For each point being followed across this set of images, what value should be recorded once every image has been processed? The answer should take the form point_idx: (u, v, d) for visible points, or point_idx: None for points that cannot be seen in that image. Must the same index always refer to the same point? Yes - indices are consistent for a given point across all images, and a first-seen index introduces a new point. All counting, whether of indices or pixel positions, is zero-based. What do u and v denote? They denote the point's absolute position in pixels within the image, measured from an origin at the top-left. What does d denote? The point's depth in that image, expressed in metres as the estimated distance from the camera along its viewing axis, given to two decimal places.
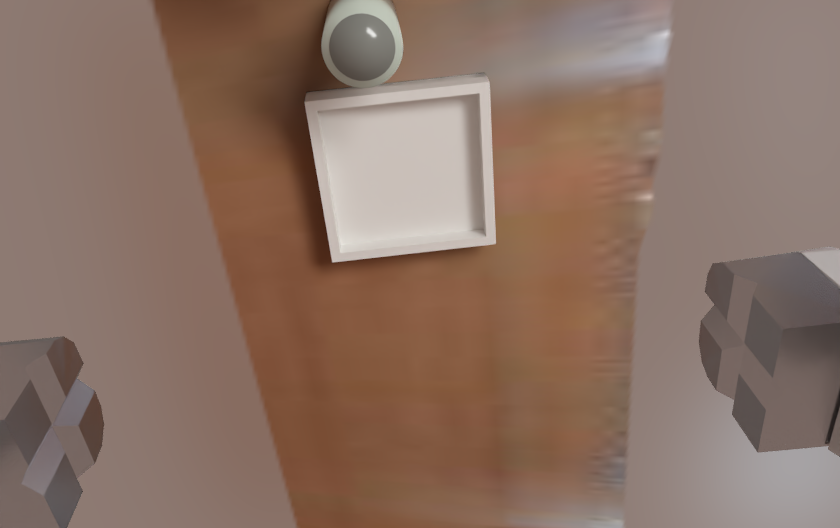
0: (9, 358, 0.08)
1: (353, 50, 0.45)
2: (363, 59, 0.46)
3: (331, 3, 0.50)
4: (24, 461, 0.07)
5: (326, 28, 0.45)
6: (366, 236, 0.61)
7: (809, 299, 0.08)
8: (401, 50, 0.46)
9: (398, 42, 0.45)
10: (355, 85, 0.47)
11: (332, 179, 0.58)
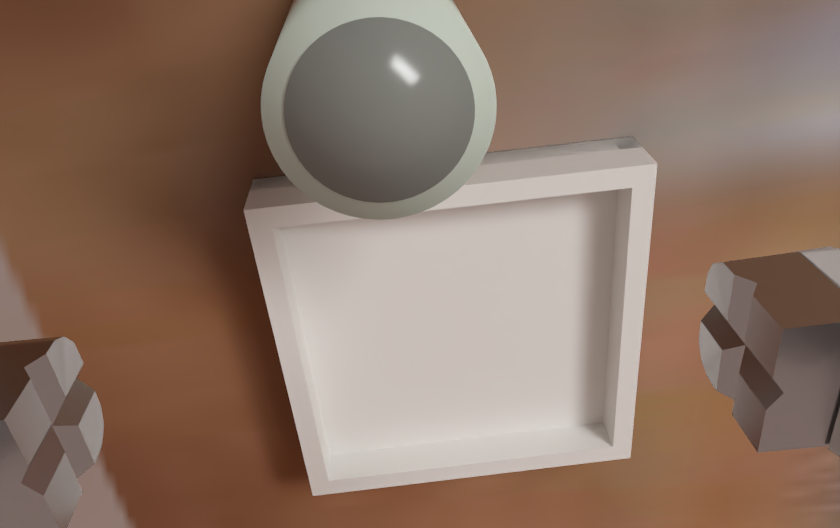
0: (9, 358, 0.08)
1: (354, 123, 0.16)
2: (382, 147, 0.16)
3: None
4: (24, 461, 0.07)
5: (274, 61, 0.15)
6: (379, 440, 0.32)
7: (809, 299, 0.08)
8: (491, 121, 0.16)
9: (483, 100, 0.16)
10: (359, 213, 0.17)
11: (311, 346, 0.29)
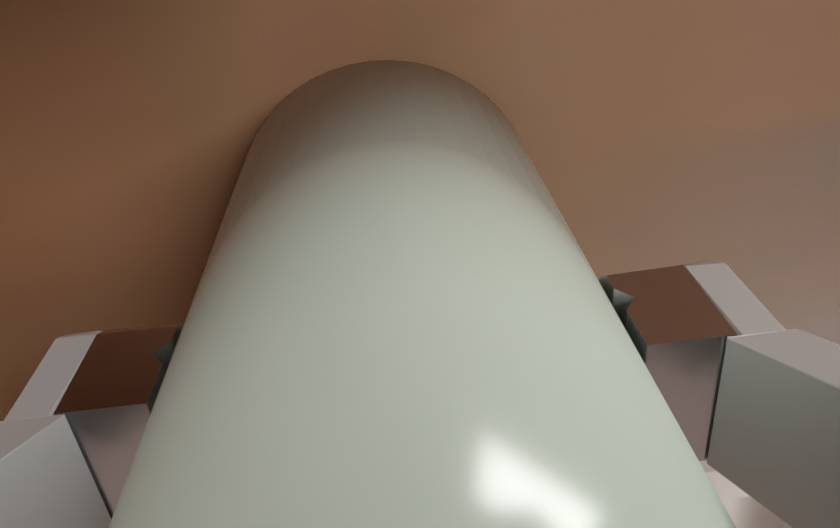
0: (135, 344, 0.08)
1: None
2: None
3: (241, 180, 0.10)
4: None
5: None
6: None
7: (681, 314, 0.08)
8: None
9: None
10: None
11: None
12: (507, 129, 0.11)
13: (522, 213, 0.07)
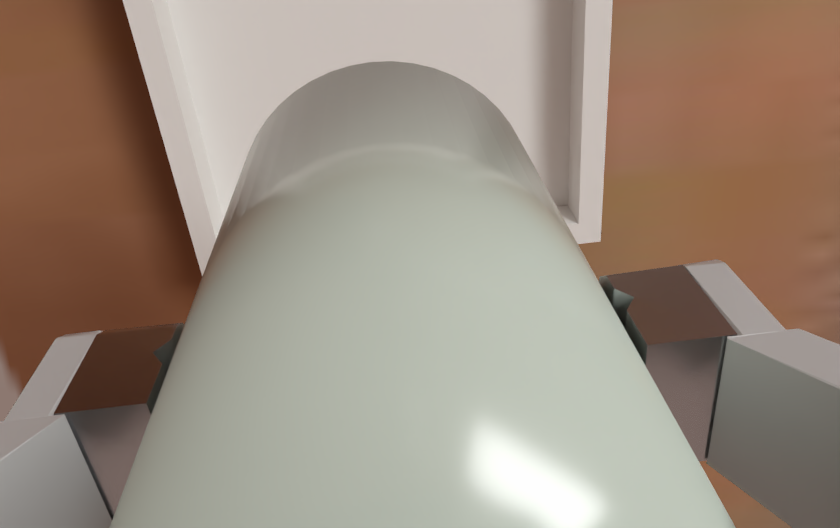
0: (135, 344, 0.08)
1: None
2: None
3: (242, 181, 0.10)
4: None
5: None
6: None
7: (680, 314, 0.08)
8: None
9: None
10: None
11: (192, 74, 0.23)
12: (507, 130, 0.11)
13: (523, 215, 0.07)
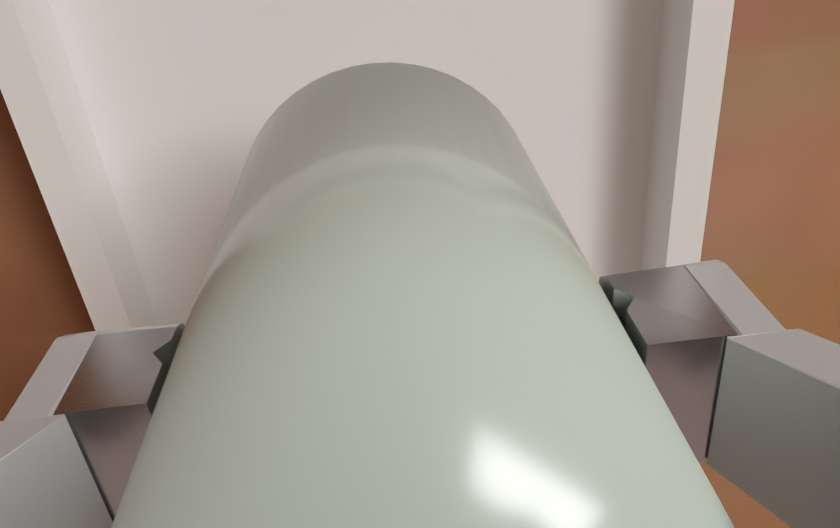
0: (135, 343, 0.08)
1: None
2: None
3: (242, 182, 0.10)
4: None
5: None
6: None
7: (680, 314, 0.08)
8: None
9: None
10: None
11: (112, 158, 0.16)
12: (508, 131, 0.11)
13: (523, 217, 0.07)
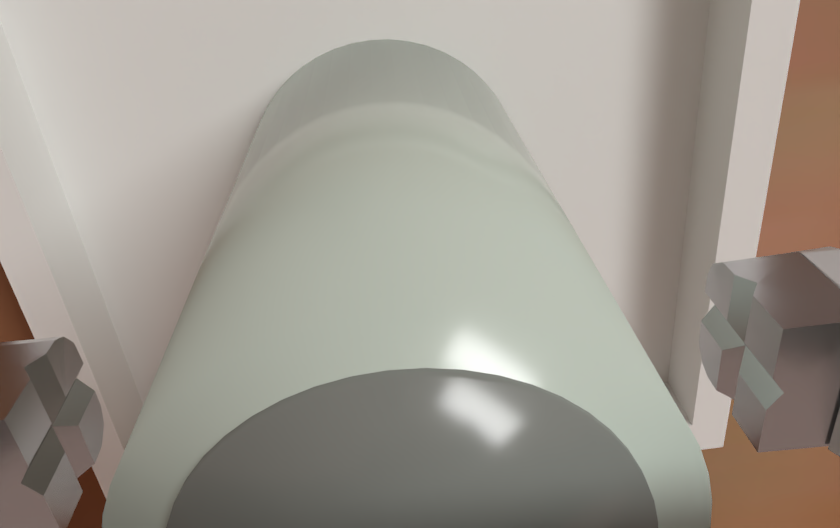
0: (9, 358, 0.08)
1: None
2: None
3: (255, 140, 0.11)
4: (24, 461, 0.07)
5: (128, 472, 0.05)
6: None
7: (809, 299, 0.08)
8: None
9: (679, 525, 0.06)
10: None
11: (83, 212, 0.14)
12: (493, 99, 0.12)
13: (498, 153, 0.09)
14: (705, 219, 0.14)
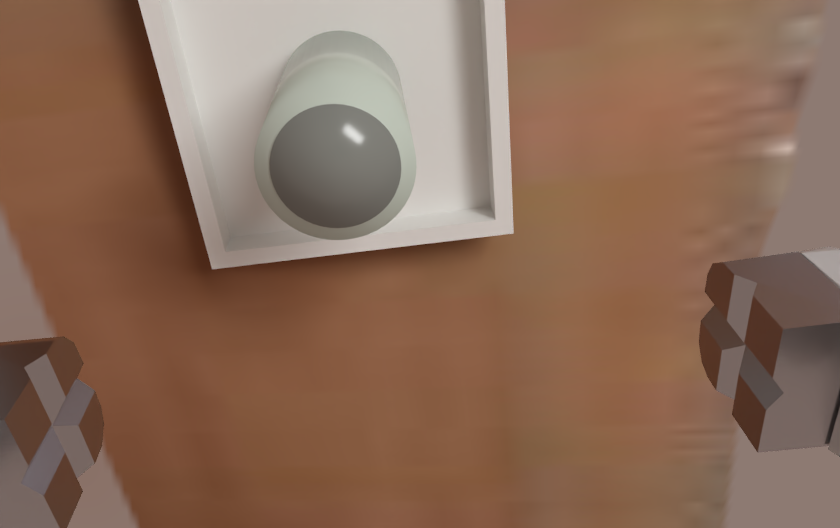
0: (9, 358, 0.08)
1: (318, 174, 0.23)
2: (338, 189, 0.23)
3: (284, 71, 0.28)
4: (24, 461, 0.07)
5: (262, 134, 0.22)
6: (276, 221, 0.34)
7: (809, 298, 0.08)
8: (413, 171, 0.23)
9: (406, 157, 0.23)
10: (324, 236, 0.24)
11: (203, 110, 0.31)
12: (383, 54, 0.29)
13: (370, 66, 0.25)
14: (488, 112, 0.31)
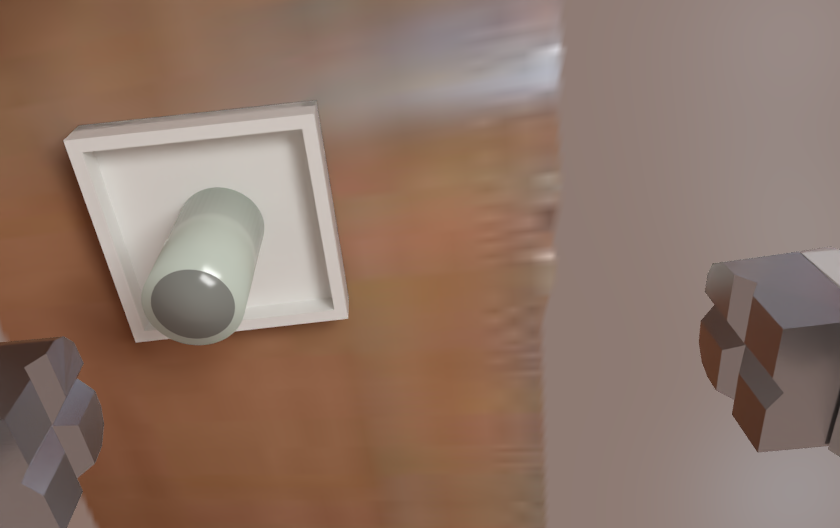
0: (9, 358, 0.08)
1: (182, 308, 0.37)
2: (196, 317, 0.37)
3: (175, 221, 0.42)
4: (24, 461, 0.07)
5: (145, 286, 0.36)
6: None
7: (810, 299, 0.08)
8: (242, 305, 0.37)
9: (238, 298, 0.37)
10: (190, 342, 0.38)
11: (126, 237, 0.45)
12: (245, 206, 0.43)
13: (224, 229, 0.39)
14: None
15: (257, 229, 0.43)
